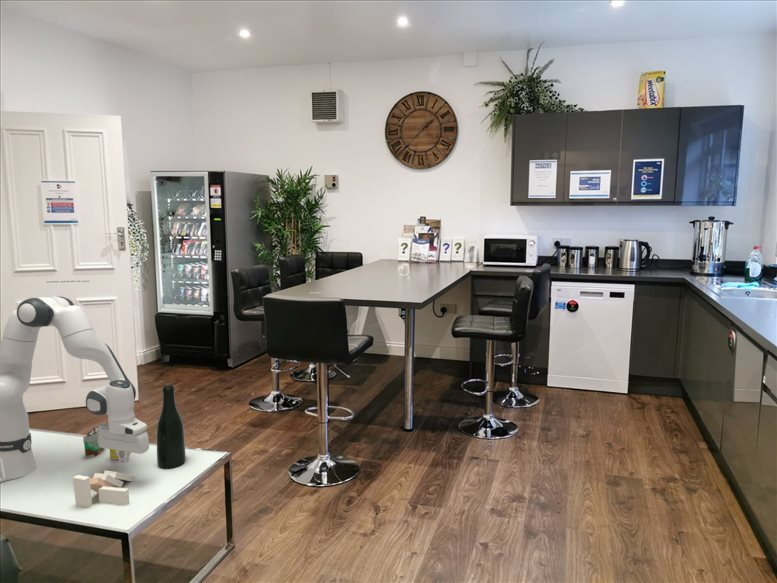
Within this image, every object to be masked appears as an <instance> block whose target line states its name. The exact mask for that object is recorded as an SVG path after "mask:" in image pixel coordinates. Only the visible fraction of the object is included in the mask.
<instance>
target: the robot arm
mask: <svg viewBox="0 0 777 583" xmlns="http://www.w3.org/2000/svg"><path fill="white" fill-rule="evenodd" d="M43 327H46V328H47V327H55V328H56V329H57V331H58V333H59V336H60V339H61V341H62V343H63V347H64V349H65V351H66V352H67V353H68V355H70V356H72V357H73V358H76V359H80V360H88V361H92V362H95V363H98V364H99V365H100V366H101V368H102V369H103V371H104V372H105V374H106V376H107V378H108V380H109V382H108V384H105V385H104V386H101V387H99V388H95V389H93V390H91V391H89V392H88V393H87V395H86V398H85V406H86V409H87V410H88V411H89V413H90V414H92V415H94V416H103V415H104V416H105V415H106V416H107V417H108V418H107V420H108V422H105V421H103V422H102V423H100V424H99V426H98V427H99V433H98V445H99V447H100V448H103V449H107V450H108V449H109V450H110V449H113V450H116V454H117V455H118V457H119V462H120V463H128V462H129V461H130V455H131V453H132V454H139V455H142V454H144V453H146V452H148V451H149V449H150V441H149V440H150V438H149V433H148V432H147V431H146V430H147V429H148V425H147V424H146V422H144V421H141V420H140V419H138V418H136V414H135V411H134V408H135V399H136V396H137V391H136V388H135V386H134V384H133V383H132V382H131V381H130V380H129V378H128V377H127V374H125V371H124V369H123V368H122V366H121V364H120V362H119V361H118V359H117V357H116V355H115V354H114V352H113V351H112V349H111V347H110V345H108V344H107V343H105V342H103V341H102V340H101V339H100V337H98V335H97V333H96V331H95V329H94V326H93V324H92V321H91V320H90V318H89V316H88V314H87V313H86V311H85V310H84V308H83V307H82V306H79V305H75V303H74V302H73V301H72V300H71V299H69V298H67V297H64V296H54V295H53V296H49V295H47V296H45V295H44V296H40V297H29V298H27V299H24V300H23V301H21V302H20V303H19V304H18V305H17V307H16V308H15V309H14V310H13V311H11V313H10V314H9V317H8V318H7V321H6V324H5V326H4V330H3V332H2V338H1V341H0V483H2V482H5V481H11V480H16V479H20V478H22V477H26V476H28V475H30V474H32V473H34V472H35V471H36V470H37V467H38V466H37V464H36V461H35V458H34V454H33V450H32V433H31V432H30V423H29V421H30V420H29V413H28V412H27V410H26V407H25V403H24V400H23V399H24V398H23V397H24V394H25V393H26V392H27V391H28V389H29V387H30V385H31V384H30V383H31V377H32V368H33V367H32V366H33V359H34V354H35V349H36V346H37V341H38V336H39V334H40V333H39V332H40V330H41V329H42V328H43ZM122 451H124V454H125V456H124V455H123V452H122Z"/></svg>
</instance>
